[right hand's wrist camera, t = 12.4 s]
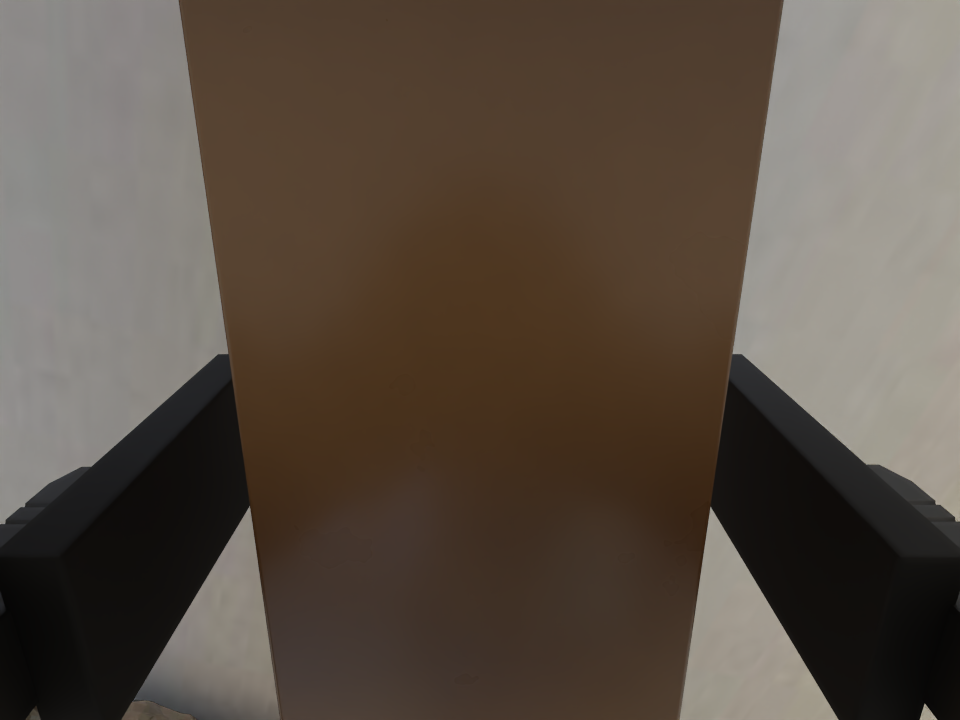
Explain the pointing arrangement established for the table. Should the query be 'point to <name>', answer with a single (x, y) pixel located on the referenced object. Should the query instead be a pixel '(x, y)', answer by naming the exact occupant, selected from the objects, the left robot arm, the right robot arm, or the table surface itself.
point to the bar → (480, 335)
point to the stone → (139, 712)
